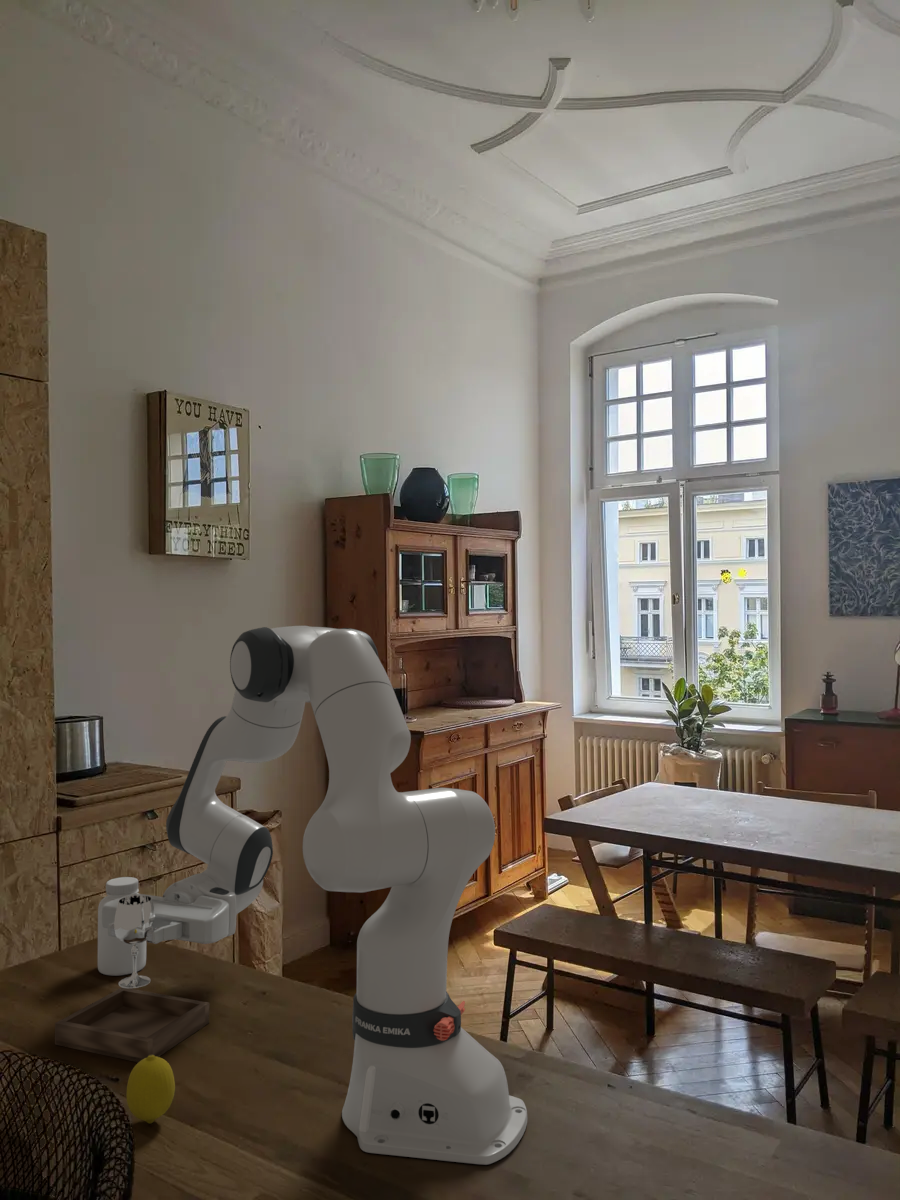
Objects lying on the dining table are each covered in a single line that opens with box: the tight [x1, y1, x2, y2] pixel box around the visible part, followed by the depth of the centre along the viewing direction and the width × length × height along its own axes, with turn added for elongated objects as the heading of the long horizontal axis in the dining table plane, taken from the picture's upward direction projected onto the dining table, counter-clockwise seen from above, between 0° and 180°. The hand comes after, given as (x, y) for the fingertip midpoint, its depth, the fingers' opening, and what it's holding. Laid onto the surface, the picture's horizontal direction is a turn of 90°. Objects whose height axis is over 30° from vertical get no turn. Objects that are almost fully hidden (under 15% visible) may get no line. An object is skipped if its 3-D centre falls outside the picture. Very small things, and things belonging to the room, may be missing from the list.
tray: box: [54, 987, 210, 1063], centre depth 137 cm, size 16×14×3 cm
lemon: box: [125, 1055, 176, 1124], centre depth 113 cm, size 6×6×8 cm
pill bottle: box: [97, 876, 147, 977], centre depth 163 cm, size 8×8×15 cm
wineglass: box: [114, 894, 156, 989], centre depth 138 cm, size 6×6×12 cm
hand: (131, 934), depth 137 cm, fingers closed on wineglass, 6 cm apart
